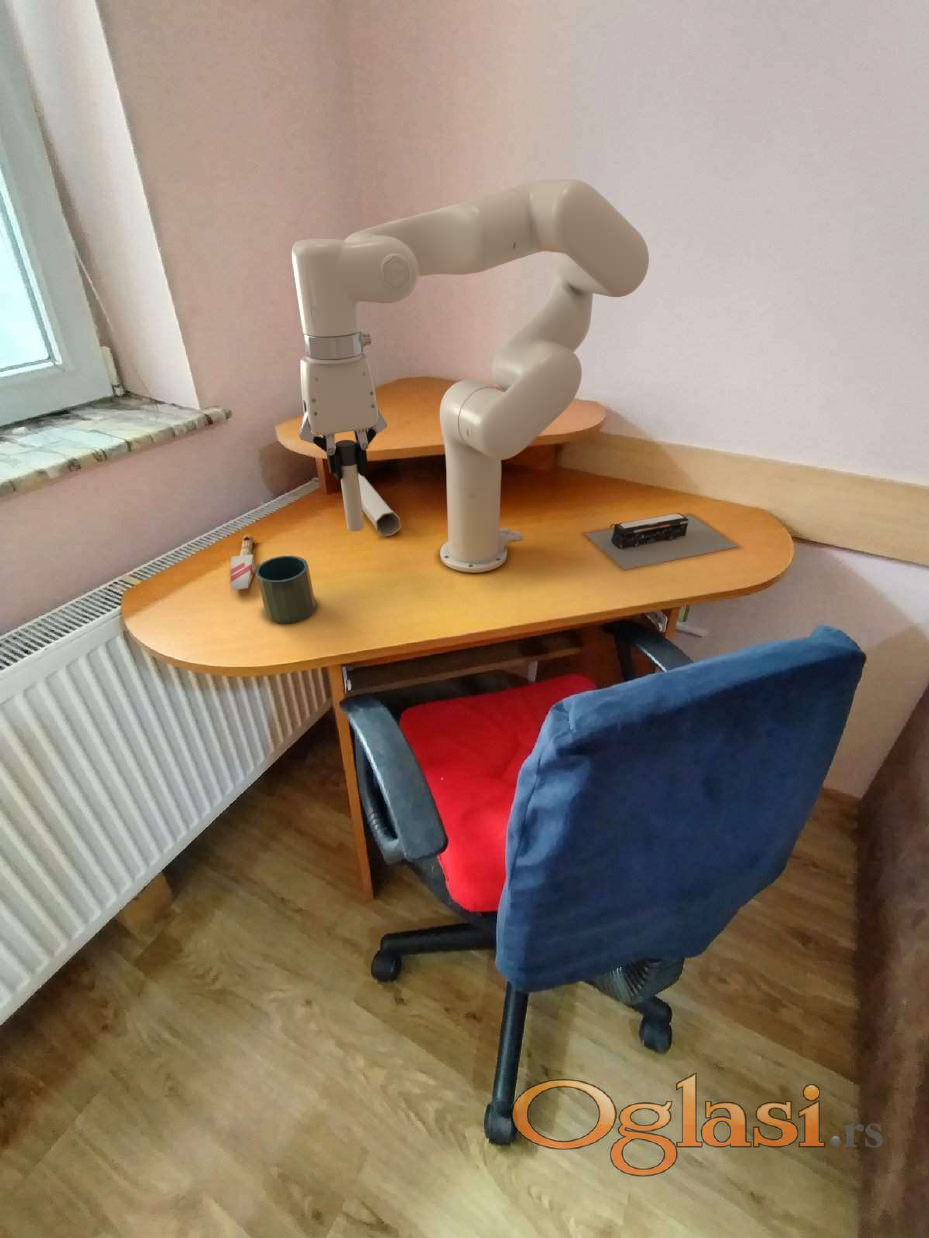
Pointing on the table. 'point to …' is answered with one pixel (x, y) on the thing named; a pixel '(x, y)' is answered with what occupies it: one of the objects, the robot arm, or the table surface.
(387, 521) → the tube
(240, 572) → the paintbrush
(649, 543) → the gray base plate
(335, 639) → the table surface
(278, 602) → the pen holder
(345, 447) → the marker
